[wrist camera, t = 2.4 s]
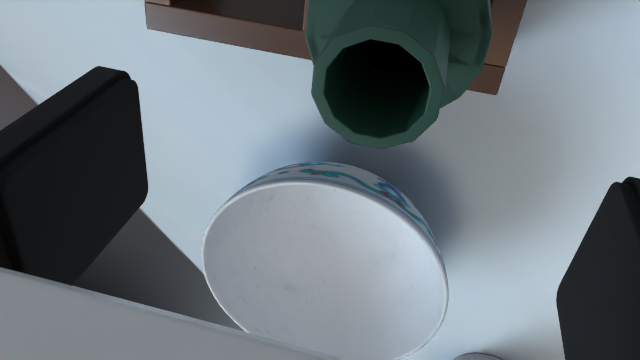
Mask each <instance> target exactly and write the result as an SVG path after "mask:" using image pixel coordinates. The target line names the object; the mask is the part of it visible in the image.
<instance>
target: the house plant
mask: <svg viewBox="0 0 640 360" xmlns="http://www.w3.org/2000/svg"><path fill="white" fill-rule="evenodd" d="M454 360H501V359H500V358H497V357H494V356H490V355H486V354H479V353H471V354H465V355H462V356H459V357H458V358H456V359H454Z"/></svg>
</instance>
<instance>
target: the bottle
mask: <svg viewBox="0 0 640 360" xmlns="http://www.w3.org/2000/svg"><path fill="white" fill-rule="evenodd" d="M305 39H306V42H307V45H308V49H309V52H310V55H311V58H312V61H313V65H314V69H313V80H312V90H311V93H312V97H313V99H314V101H315V103H316V106H317V108H318V110H319V112H320V114H321V116H322V118H323V121H324V122H325V124H327V125H328V126H329V127H330V128H332V129H333V130H334V131H336V132H337V133H338V134H340V135H341V136H342V137H343V138H345V139H346V140H347V141H349V142H351V143H354V144H359V145H364V146H368V147H373V148H378V149H385V148H389V147H393V146H397V145H401V144H405V143H409V142H412V141H414V140H416V139H417V138H418V137H419V136H420V135H421V134H422V133H423V132H424V131H425V130H426V129H427V128H428V127H429V126H430V125H432V124H433V123H434V122H435V121H436V119H437V118H438V114H439V110H440V108H442V107H443V106H445V105H447V104H449V103H451V102H452V101H454V100H456V99H458V98H459V97H460V96H461V95H462V94H463V93H464V92H465V90H466V89H467V88H468V87H469V86H470V84H471V83H472V82H473V81H474V79H475V78H476V77H477V76H478V75H479V73H480V72H481V71H482V69H483V66H484V62H485V59H486V56H487V52H488V49H489V46H490V42H491V39H492V19H491V5H490V0H309V2H308V7H307V19H306V30H305Z"/></svg>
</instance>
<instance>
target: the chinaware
mask: <svg viewBox="0 0 640 360" xmlns="http://www.w3.org/2000/svg"><path fill="white" fill-rule="evenodd" d="M201 260H202V267H203V271H204V275H205V278H206V281H207V283H208V286H209V288H210V290H211V292H212V294H213V295H214V297H215V299H216V300H217V302H218V303H219V304H220V306H221V307H222V308H223V310H224V311H225V312H226V313H227V314H228V315H229V316H230V318H232V319H233V320H234V322H236V323H237V324H238V325H239V326H240V327H241V328H242V329H244V330H245V331H246V332H247V333H251V334H255V335H258V336H262V337H266V338H269V339H273V340H277V341H280V342H284V343H288V344H292V345H295V346H299V347H303V348H306V349H310V350H314V351H317V352H321V353H325V354H328V355H332V356H336V357H339V358H343V359H347V360H400V359H402V358H404V357H407V356H409V355H410V354H412V353H414V352H416V351H417V350H419V349H420V348H421V347H423V346H424V345H425V344H426V343H427V342H428V341H429V340H430V339H431V338H432V337H433V336H434V335H435V333H436V332H437V331H438V329H439V328H440V326H441V324H442V322H443V320H444V317H445V314H446V311H447V306H448V296H449V291H448V281H447V275H446V270H445V266H444V262H443V258H442V255H441V252H440V249H439V246H438V244H437V241H436V239H435V237H434V235H433V233H432V231H431V229H430V227H429V225H428V224H427V222H426V220H425V219H424V217H423V216H422V214H421V213H420V212H419V210H418V209H417V208H416V207H415V205H414V204H413V203H412V202H411V201H410V200H409V199H408V198H407V197H406V196H405V195H404V194H403V193H402V192H401V191H399V190H398V189H397V188H396V187H394V186H393V185H392V184H390V183H389V182H387V181H386V180H384V179H382V178H381V177H379V176H377V175H375V174H373V173H371V172H368V171H366V170H363V169H361V168H358V167H354V166H351V165H347V164H342V163H335V162H305V163H298V164H293V165H289V166H286V167H282V168H279V169H277V170H274V171H272V172H269V173H267V174H265V175H263V176H261V177H259V178H257V179H256V180H254V181H252V182H251V183H249V184H248V185H246V186H245V187H243V188H242V189H241V190H239V191H238V192H237V193H235V194H234V195H233V196H232V197H231V198H230V199H229V200H227V201H226V202H225V203H224V204H223V205H222V206H221V207H220V209H219V210H218V211H217V212H216V213H215V215H214V216H213V217H212V219H211V221H210V222H209V224H208V226H207V228H206V231H205V234H204V237H203V241H202V248H201Z"/></svg>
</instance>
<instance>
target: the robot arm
mask: <svg viewBox="0 0 640 360" xmlns="http://www.w3.org/2000/svg"><path fill="white" fill-rule="evenodd" d="M147 193H148V180H147V171H146V161H145V151H144V142H143V132H142V122H141V113H140V103H139V93H138V86H137V84H136V82H135V81H134V80H131V78H130V76H129V74H128V73H127V72H125V71H120V70H116V69H111V68H106V67H101V66H97V67H95V68H93V69H92V70H90V71H89V72H87V73H86V74H84V75H83V76H81V77H80V78H78V79H77V80H75V81H74V82H72V83H71V84H69V85H68V86H66V87H65V88H63V89H62V90H60V91H59V92H57V93H56V94H54V95H53V96H51V97H50V98H48V99H47V100H45V101H44V102H42V103H41V104H39V105H38V106H36V107H35V108H33V109H32V110H31V111H29V112H27V113H26V114H25V115H23V116H22V117H20V118H19V119H17V120H16V121H14V122H13V123H11V124H10V125H8V126H7V127H5V128H4V129H2V130H1V131H0V360H347V359H343V358H339V357H336V356H332V355H328V354H325V353H321V352H317V351H314V350H310V349H306V348H303V347H299V346H295V345H292V344H288V343H284V342H280V341H277V340H273V339H269V338H266V337H262V336H258V335H255V334H251V333H247V332H243V331H240V330H236V329H232V328H229V327H225V326H221V325H217V324H214V323H210V322H206V321H203V320H199V319H195V318H191V317H188V316H184V315H180V314H177V313H173V312H169V311H165V310H162V309H158V308H154V307H150V306H146V305H142V304H139V303H135V302H131V301H127V300H124V299H120V298H116V297H112V296H108V295H105V294H101V293H97V292H93V291H90V290H86V289H82V288H78V287H75V286H72V285H73V284H74V283H75V282H76V281H77V280H78V278H79V277H80V276H81V275H82V274H83V272H84V271H85V270H86V269H87V268H88V267H89V266H90V264H91V263H92V262H93V261H94V260H95V259H96V257H97V256H98V255H99V254H100V253H101V252H102V250H103V249H104V248H105V247H106V246H107V245H108V243H109V242H110V241H111V240H112V239H113V237H114V236H115V235H116V234H117V233H118V232H119V230H120V229H121V228H122V227H123V226H124V225H125V224H126V222H127V221H128V220H129V219H130V218H131V216H132V215H133V214H134V213H135V212H136V211H137V210H138V208H139V207H140V206H141V205H142V204H143V202H144V201H145V199H146V196H147ZM556 302H557V310H558V316H559V322H560V329H561V335H562V342H563V348H564V354H565V360H640V179H639V178H634V177H628V178H626V179H625V180H624V181H623V182H622V183H619V182H614V183H613V184H612V185H611V186H610V188H609V190H608V192H607V193H606V195H605V197H604V199H603V201H602V203H601V205H600V207H599V209H598V211H597V213H596V215H595V217H594V219H593V221H592V223H591V225H590V227H589V228H588V230H587V232H586V234H585V236H584V238H583V240H582V242H581V244H580V246H579V248H578V250H577V252H576V254H575V256H574V258H573V260H572V262H571V263H570V265H569V267H568V269H567V271H566V273H565V275H564V277H563V279H562V281H561V283H560V285H559V288H558V291H557V299H556Z"/></svg>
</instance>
